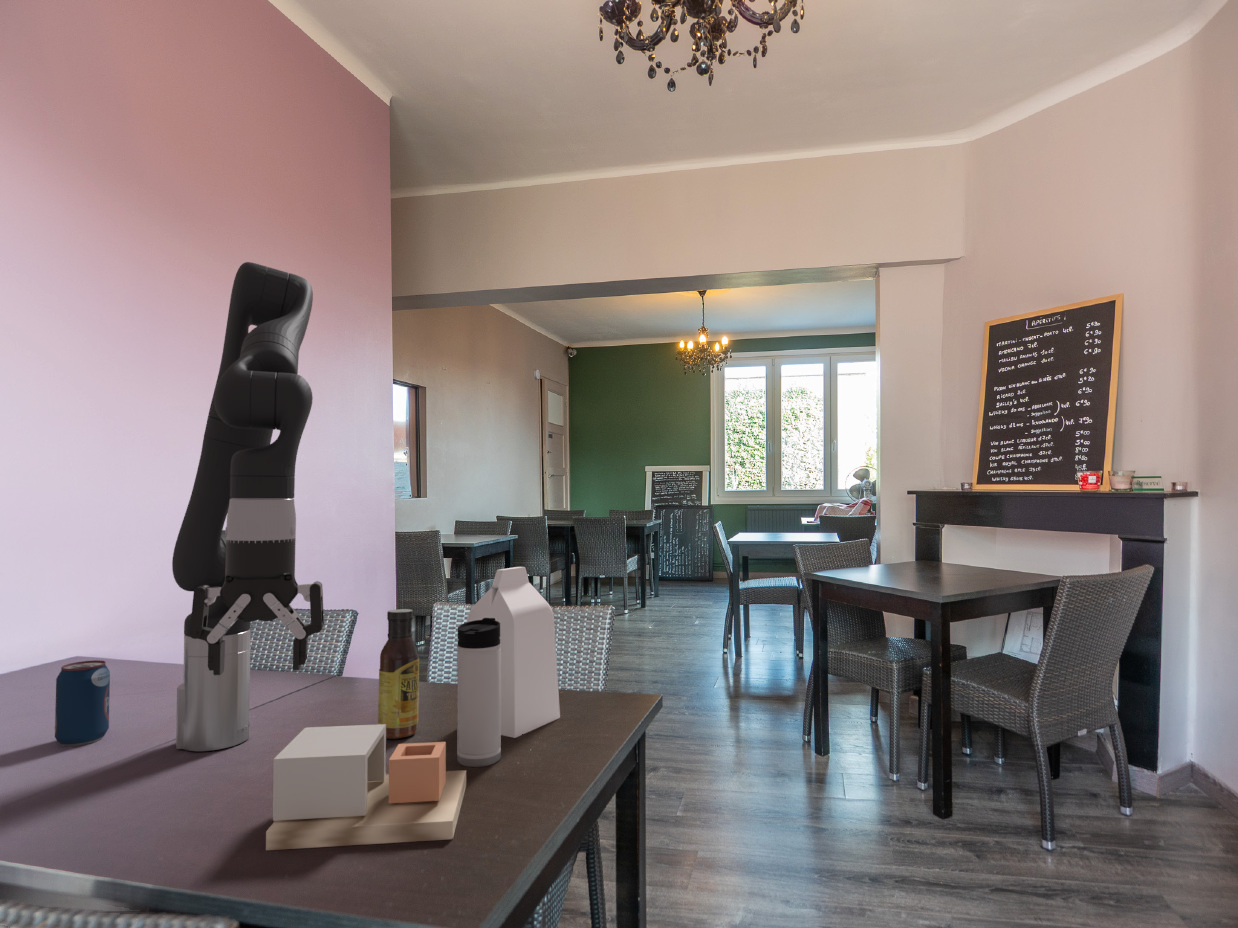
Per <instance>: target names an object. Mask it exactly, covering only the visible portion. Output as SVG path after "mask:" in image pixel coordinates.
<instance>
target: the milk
mask: <svg viewBox="0 0 1238 928" xmlns="http://www.w3.org/2000/svg"><path fill="white" fill-rule="evenodd" d="M483 618H495V621H498V622H499V623H500V637H499V638H500V643H501V646H500V648H501V736H504V737H509V738H514V739H515V738H518V737H520V736H523V735H525V734H527V733H529V732H532V731H533V730H536V729H538V728H540V727H542V726H545V725H548V724H549V723H552V722H554V721H556V720H558V719H560V718H561V710H560V695H559V694H560V693H559V676H558V663H557V645H556V631H555V616H554V611H553V609H552V607H551V604H549V603H548V601H547V600H546V599H545V598H544V597H543V596H542V594H540V592H539V591H538V590H537V589H536V588H535V586H533V584H532V583H531V582H530V581H529V577H528V572H527V568H526V567H525V566H514V567H509V568H508V567H507V568H501V569H496V571H495V575H494V579H493V581H492V585H491V587H490V588H489V589H488V590H487V591H486V592H485V594H484V595H482V597H481V598H480V599H479V600H478V601H477V602H475V604H474V605H473V606H472V607H471V609H470V610H469V612H468V614H467V619H466V622H470V621H475V620H482V619H483ZM522 734H523V735H522Z"/></svg>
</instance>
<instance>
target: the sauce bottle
mask: <svg viewBox="0 0 1238 928" xmlns="http://www.w3.org/2000/svg"><path fill="white" fill-rule="evenodd" d="M386 616H387V619H386V620H387V622H388V623H387V627H388V631H387V641H386V643H385V644H384V645H383V647H382V649H381V651H380V655H379V657H380V658H379V669H378V705H377V709H378V710H377V724H386V740H388V739H390V740H397V739H403V738H404V739H405V738H407V737H410V736H411V737H412V736H413V735H415V734H416V732H417V730H418V729H417V728H418V723H419V701H420V700H419V693H420V692H419V691H420V656H419V654H418V650H417V647H416V644H415V642H414V640H413V633H412V631H413V629H412V628H413V625H412V623H413V619H414V610H413V609H409V608H402V609H390V610H388V611H387V615H386Z"/></svg>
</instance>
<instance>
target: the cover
mask: <svg viewBox="0 0 1238 928" xmlns="http://www.w3.org/2000/svg"><path fill="white" fill-rule="evenodd" d="M386 744H387V738H386V724H378V723H376V724H359V725H357V724H355V725H354V724H353V725H335V726H315V727H314V726H313V727H304V728H303V729H302V730H301V731H300V732H299V733H298V734H297V735H296V736H295V737H294V738H293V739H292V740H291V741H290V742H289V743H288V744H287V745H286V746H285V747H284V748H283V749H282V750H281V751H280V752H279V753H278V754H277V755H276V756H275V757H274V758H273V772H272V774H273V781H272V783H273V785H272V788H273V789H272V790H273V791H272V794H273V795H272V821H273V822H274V821H276V820H294V819H312V818H330V817H347V816H365V815H366V813H367V782H370V781H384V780H385V778H386V774H387V773H386V771H387V765H386V764H387V763H386V762H387V758H386V757H387V754H386V753H387V752H386V751H387V750H386V749H387V747H386V746H387V745H386Z"/></svg>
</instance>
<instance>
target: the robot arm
mask: <svg viewBox="0 0 1238 928" xmlns="http://www.w3.org/2000/svg"><path fill="white" fill-rule="evenodd" d="M313 297H314V293H313V287H312V285H311V283H310V282H309V281H308V279H306V278H305V277H302V276H299V275H297V274H295V273H294V274H293V273H289V272H287V271H283V270H280V269H276V268H274V267H269V266H266V265H262V264H260V263H256V262H255V263H254V262H251V261H246V262H243V263H241V264H240V266H239V268H238V269H237V271H236V274H235V276H234V279H233V285H232V287H231V294H230V300H229V306H228V307H229V308H228V316H227V320H226V327H225V328H226V329H225V335H224V341H223V347H222V354H221V360H220V365H219V369H218V370H219V371H218V374H217V379H216V382H215V387H214V390H213V393H212V399H211V403H210V406H209V411H208V416H207V420H206V424H205V430H204V434H203V439H202V440H203V441H202V447H201V453H200V457H199V462H198V466H197V470H196V474H195V478H194V481H193V482H194V483H193V486H192V491H191V495H190V499H189V500H188V504H187V506H186V510H185V513H184V516H183V518H182V522H181V526H180V528H179V531H178V535H177V538H176V541H175V544H174V548H173V554H172V561H171V563H172V564H171V566H172V568H171V569H172V575H173V578H174V581H175V583H176V585H178V587H179V588H180V589H182V590H184V591H186V592H193V596H192V604H191V605H192V606H191V613H189V614H188V615H187V616H186V617H185V619H184V625H183V674H182V675H183V683H181V684H179V685H178V686H177V688H176V690H177V691H176V736H175V737H176V739H175V746H176V747H175V749H176V750H185V751H190V752H209V751H215V750H217V751H218V750H222V749H227V748H230V747H234V746H236V745H237V746H238V745H239V744H242V743H243V742H245V741H247V740H248V739H249V737H250V699H251V698H250V688H251V687H250V685H251V683H250V682H251V679H250V678H251V623H252V622H255V621H262V622H273V621H275V620H277V619H279V621H280V622H281V623H282V624H283V625H284V626H285V627H287V628H288V630H289V631H290V632H291V634H293V636H294V639H293V643H292V644H293V645H292V671H300V670H301V667H302V666H304V665H305V663H306V662H307V660H308V645H309V644H308V643H309V642H308V640H309V638H308V637H310V636H311V635H315V634H319V633H320V632H321V631H322V630H323V628H324V626H325V619H324V618H325V617H324V616H325V615H324V592H323V584H322V582H320V581H318V580H317V581H314V582H313V583H306V584H298V582H297V580H296V542H297V541H296V533H297V531H296V529H297V528H296V527H297V517H296V516H297V514H296V507H295V488H296V487H295V485H296V484H295V481H296V480H295V479H296V478H295V476H296V465H297V464H296V463H297V462H296V461H297V455H298V450H299V446H300V444H301V439H302V435H303V434H304V430H305V429H306V424H307V421H308V418H309V416H310V414H311V410H312V405H313V391H312V389H311V385H310V384H309V383H308V381H307V380H306V379H305V378H304V377H303V376H301V375H300V374H298V373H299V371H298V370H299V355H300V354H299V353H300V350H301V347H302V343H303V340H304V338H305V336H306V332H307V329H308V325H309V320H310V317H311V313H312V308H313V301H314V300H313V299H314V298H313ZM250 326H255V327H254V328H252V330H250V331H249V328H250ZM274 430H277V431H279V434H278V435H277V436H278V437H277V438H276V440H274V441H273V442H272V437H273V432H274ZM225 522H226V526H225V530H223V529H224V525H225ZM298 594H300V595H302V596H303V600H304V601H305V602H309V608H310V609H309V610H310V623H307V624H305V623H304V621H303V620H302V618H301V617H300V616H299V614H298V612H297V611H296V610H295V609H294V608H293V607H292V605H291V603H292V602H293V601H294V599H295V598H296V597H297V595H298Z"/></svg>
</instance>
